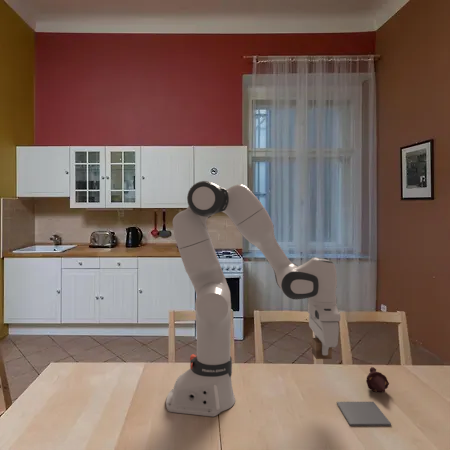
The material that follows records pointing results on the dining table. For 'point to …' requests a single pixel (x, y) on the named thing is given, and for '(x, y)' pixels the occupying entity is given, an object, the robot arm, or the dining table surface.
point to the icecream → (377, 381)
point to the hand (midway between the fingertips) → (321, 350)
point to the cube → (317, 349)
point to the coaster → (363, 414)
